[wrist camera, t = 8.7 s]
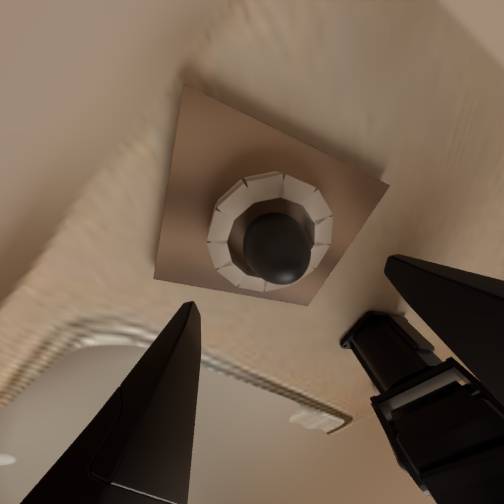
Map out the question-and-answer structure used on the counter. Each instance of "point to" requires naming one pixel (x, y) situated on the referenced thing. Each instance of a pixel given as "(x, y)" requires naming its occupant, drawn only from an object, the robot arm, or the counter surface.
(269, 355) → the counter surface
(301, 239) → the egg
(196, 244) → the egg stand
